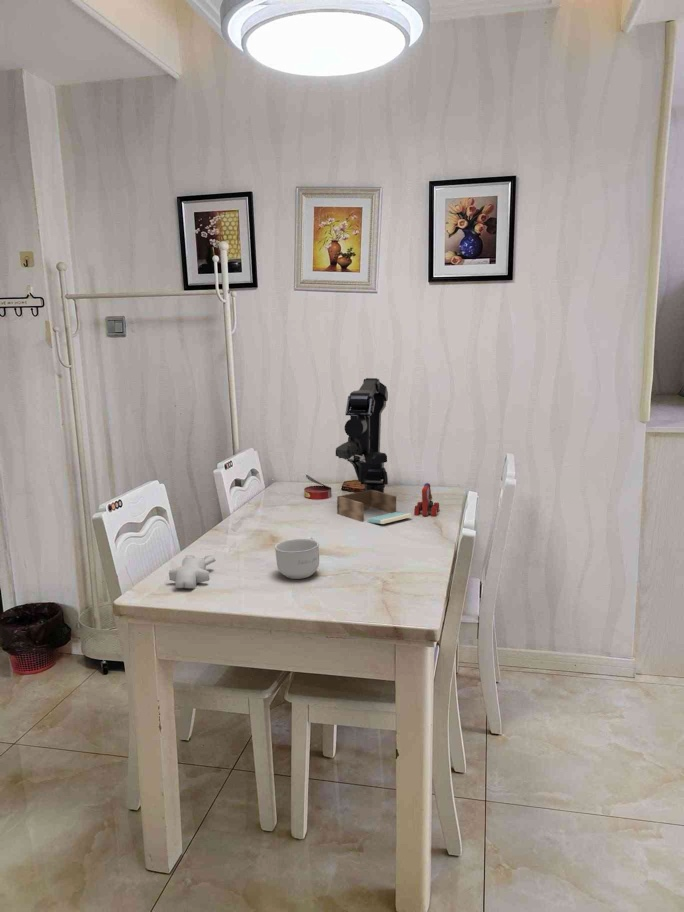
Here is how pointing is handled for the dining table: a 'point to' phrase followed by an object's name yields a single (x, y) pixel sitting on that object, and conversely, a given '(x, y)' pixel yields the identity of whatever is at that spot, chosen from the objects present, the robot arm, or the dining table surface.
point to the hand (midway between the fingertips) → (360, 481)
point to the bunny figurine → (191, 571)
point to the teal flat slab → (389, 517)
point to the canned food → (317, 491)
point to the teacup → (297, 557)
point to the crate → (364, 503)
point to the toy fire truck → (426, 503)
